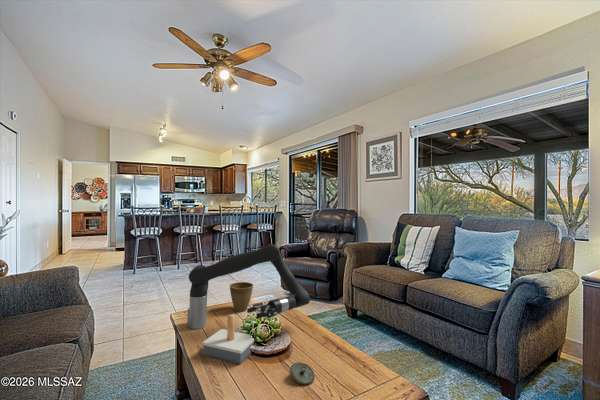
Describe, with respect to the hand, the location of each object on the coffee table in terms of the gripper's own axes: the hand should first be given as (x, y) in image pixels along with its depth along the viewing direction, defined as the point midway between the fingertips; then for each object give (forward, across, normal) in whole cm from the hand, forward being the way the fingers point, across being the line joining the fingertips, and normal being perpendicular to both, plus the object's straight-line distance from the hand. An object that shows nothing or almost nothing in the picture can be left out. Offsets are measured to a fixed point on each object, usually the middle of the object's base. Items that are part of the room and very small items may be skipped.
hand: (252, 313), depth 142 cm
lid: (-2, +35, +16) cm, 39 cm away
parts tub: (+12, 0, +15) cm, 19 cm away
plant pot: (-19, -43, +16) cm, 49 cm away
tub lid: (+11, 0, +12) cm, 17 cm away
